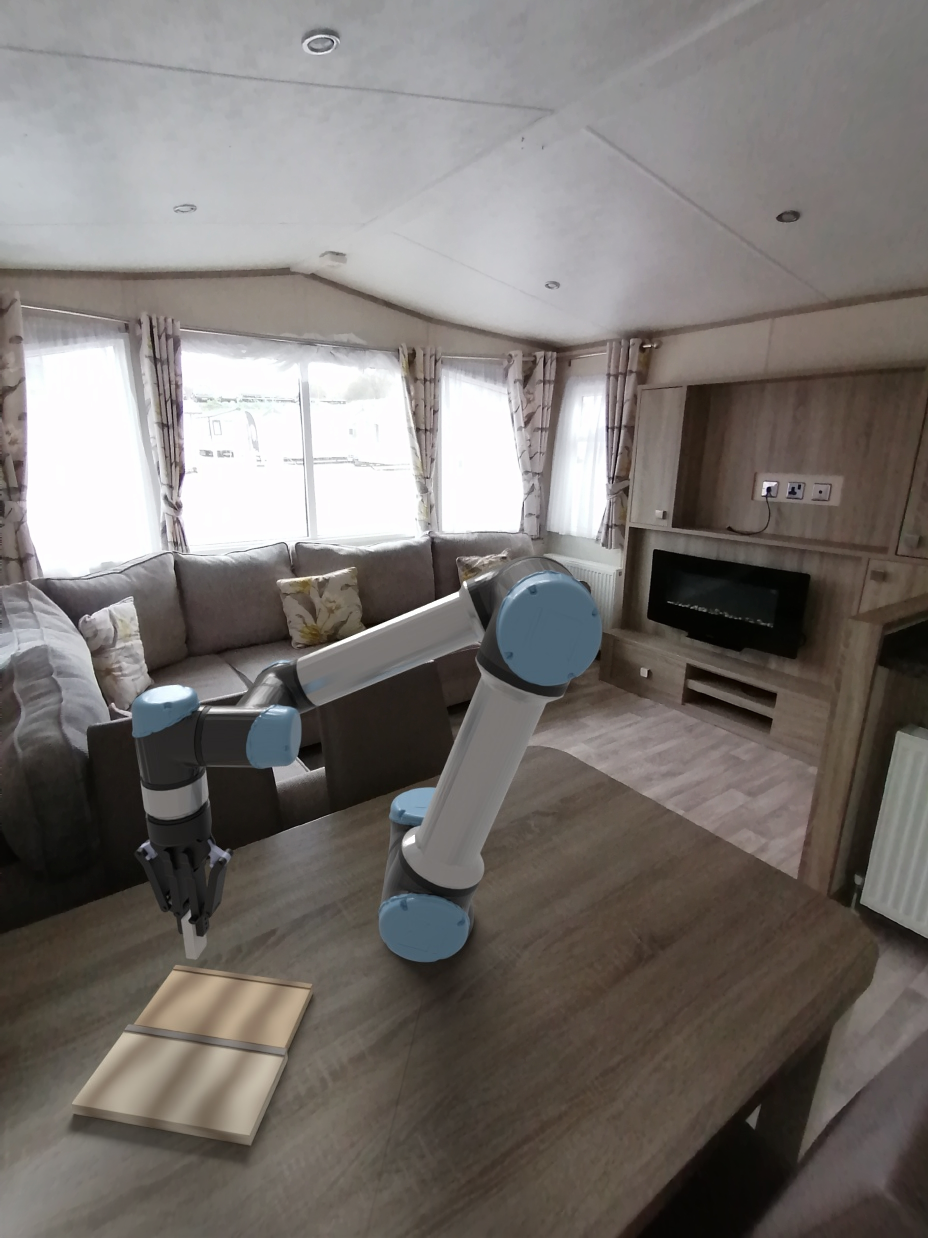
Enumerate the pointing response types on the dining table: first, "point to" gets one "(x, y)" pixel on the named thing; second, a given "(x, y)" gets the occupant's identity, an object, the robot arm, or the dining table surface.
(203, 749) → the robot arm
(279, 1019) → the plank
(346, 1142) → the dining table surface
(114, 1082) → the laid board
